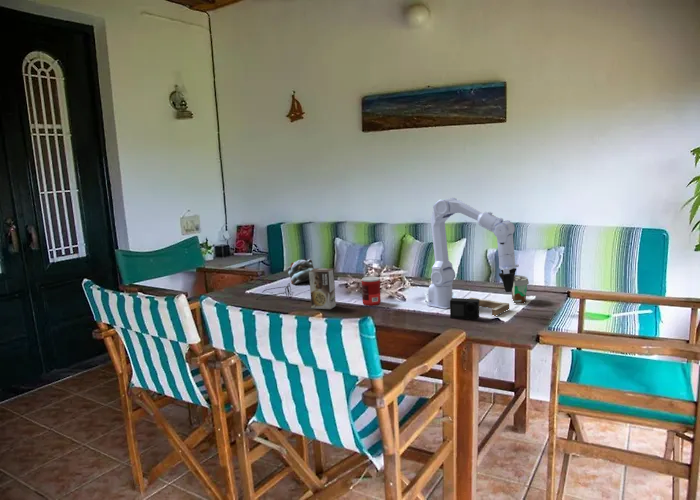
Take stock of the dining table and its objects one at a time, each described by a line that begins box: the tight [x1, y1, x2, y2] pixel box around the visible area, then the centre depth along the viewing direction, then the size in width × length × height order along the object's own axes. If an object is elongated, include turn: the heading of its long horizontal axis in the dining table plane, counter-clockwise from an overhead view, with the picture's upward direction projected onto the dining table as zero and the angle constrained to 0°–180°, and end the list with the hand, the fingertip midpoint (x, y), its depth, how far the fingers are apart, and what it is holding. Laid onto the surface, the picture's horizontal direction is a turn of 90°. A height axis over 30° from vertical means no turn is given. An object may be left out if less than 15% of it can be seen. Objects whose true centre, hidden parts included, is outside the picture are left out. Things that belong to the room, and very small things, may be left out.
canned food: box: [361, 276, 382, 307], centre depth 225 cm, size 8×8×11 cm
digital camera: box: [449, 297, 480, 321], centre depth 199 cm, size 10×5×7 cm, turn 70°
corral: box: [467, 297, 510, 317], centre depth 208 cm, size 17×11×3 cm, turn 46°
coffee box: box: [309, 267, 337, 310], centre depth 222 cm, size 9×6×16 cm
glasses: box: [256, 282, 292, 300], centre depth 248 cm, size 14×15×5 cm
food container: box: [511, 274, 530, 304], centre depth 218 cm, size 12×6×10 cm, turn 168°
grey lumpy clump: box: [286, 257, 315, 286], centre depth 274 cm, size 15×12×14 cm
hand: (509, 289), depth 197 cm, fingers open, 7 cm apart
